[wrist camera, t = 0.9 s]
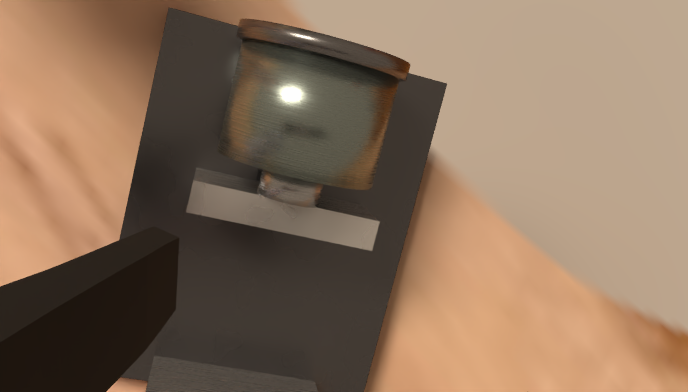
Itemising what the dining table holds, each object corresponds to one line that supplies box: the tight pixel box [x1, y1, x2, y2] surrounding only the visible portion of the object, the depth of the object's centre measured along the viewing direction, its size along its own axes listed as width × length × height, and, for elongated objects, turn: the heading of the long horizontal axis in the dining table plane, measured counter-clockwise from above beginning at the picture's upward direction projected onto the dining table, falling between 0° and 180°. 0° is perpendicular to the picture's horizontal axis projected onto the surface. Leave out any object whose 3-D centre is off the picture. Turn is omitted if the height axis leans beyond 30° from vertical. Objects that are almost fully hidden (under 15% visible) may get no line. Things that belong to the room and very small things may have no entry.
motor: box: [119, 8, 447, 392], centre depth 22 cm, size 13×10×6 cm
